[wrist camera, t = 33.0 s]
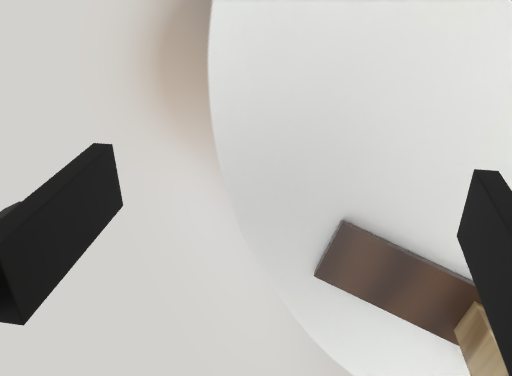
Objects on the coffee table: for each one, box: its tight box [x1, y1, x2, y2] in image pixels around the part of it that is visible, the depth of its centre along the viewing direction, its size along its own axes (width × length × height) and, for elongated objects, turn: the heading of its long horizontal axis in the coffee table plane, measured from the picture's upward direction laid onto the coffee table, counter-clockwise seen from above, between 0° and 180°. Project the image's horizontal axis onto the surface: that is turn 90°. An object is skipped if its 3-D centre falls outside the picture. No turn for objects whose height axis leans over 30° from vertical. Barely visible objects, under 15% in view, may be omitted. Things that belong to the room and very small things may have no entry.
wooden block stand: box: [314, 220, 509, 376], centre depth 36 cm, size 24×6×11 cm, turn 67°
